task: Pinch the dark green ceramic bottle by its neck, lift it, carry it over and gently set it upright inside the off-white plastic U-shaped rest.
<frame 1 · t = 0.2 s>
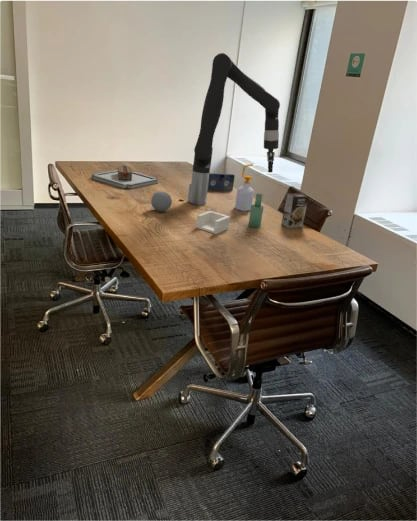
hand: (270, 170, 235), 23 cm above the table, tool pointing down, fingers open, 8 cm apart
decorative stone: (160, 211, 222), on the table
coffee box: (291, 226, 226), on the table
soap bottle: (242, 208, 244), on the table
green bottle: (254, 226, 218), on the table
vhs cassette tape: (218, 190, 276), on the table
grey square tray: (125, 182, 269), on the table
u rest: (212, 228, 208), on the table
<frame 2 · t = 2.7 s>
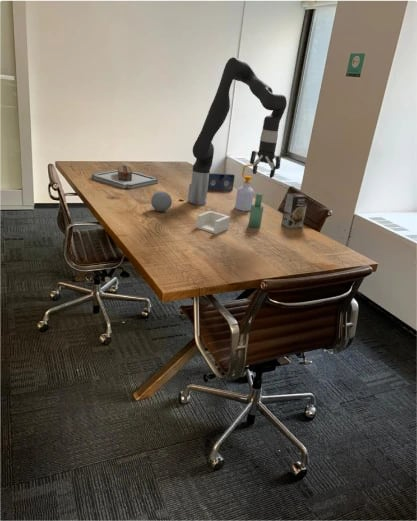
hand: (262, 175, 209), 25 cm above the table, tool pointing down, fingers open, 8 cm apart
nothing on the table moved.
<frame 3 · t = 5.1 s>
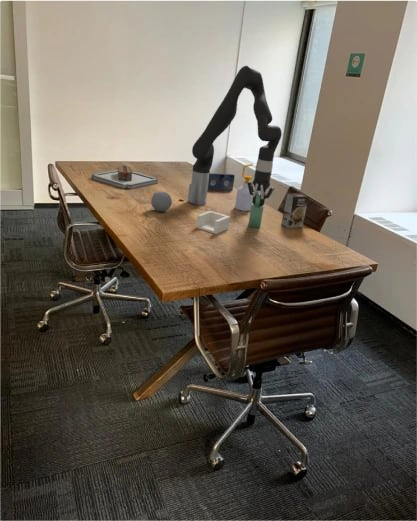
hand: (257, 205, 214), 11 cm above the table, tool pointing down, fingers closed on green bottle, 3 cm apart
green bottle: (254, 226, 218), on the table, touching gripper
everything else where it was.
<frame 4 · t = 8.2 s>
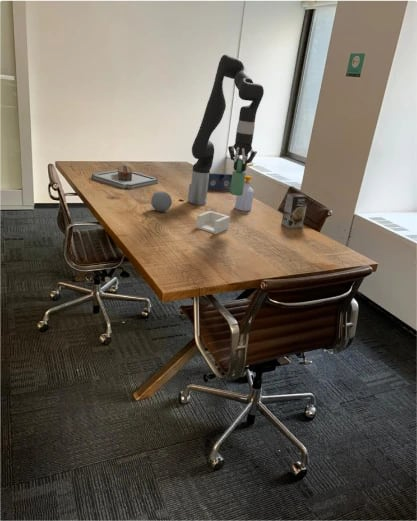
hand: (239, 170, 202), 27 cm above the table, tool pointing down, fingers closed on green bottle, 3 cm apart
green bottle: (236, 193, 206), point 16 cm above the table, touching gripper
everything else where it was.
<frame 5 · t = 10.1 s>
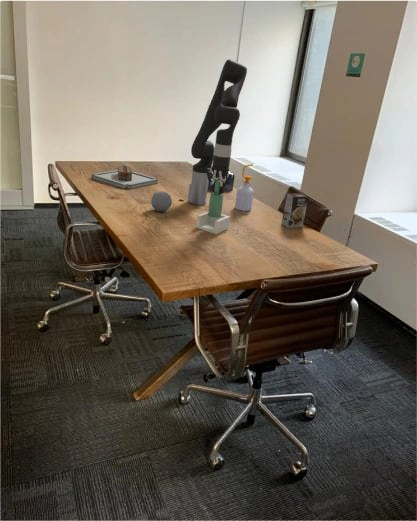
hand: (217, 193, 201), 17 cm above the table, tool pointing down, fingers closed on green bottle, 3 cm apart
green bottle: (214, 215, 205), point 6 cm above the table, touching gripper
everything else where it was.
when the fingers open (13 cm above the table, at t = 11.6 s): green bottle drops 1 cm, resting on u rest.
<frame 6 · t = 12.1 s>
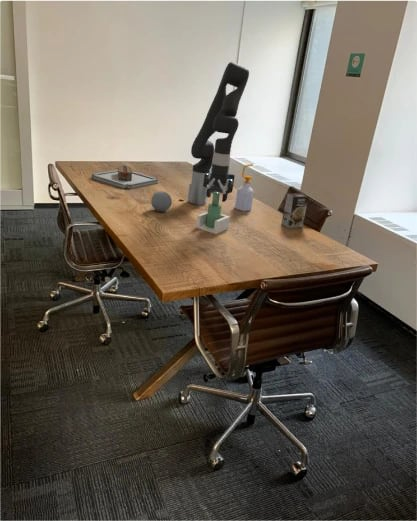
hand: (216, 199, 202), 14 cm above the table, tool pointing down, fingers open, 7 cm apart
green bottle: (212, 226, 207), point 1 cm above the table, touching u rest
everything else where it was.
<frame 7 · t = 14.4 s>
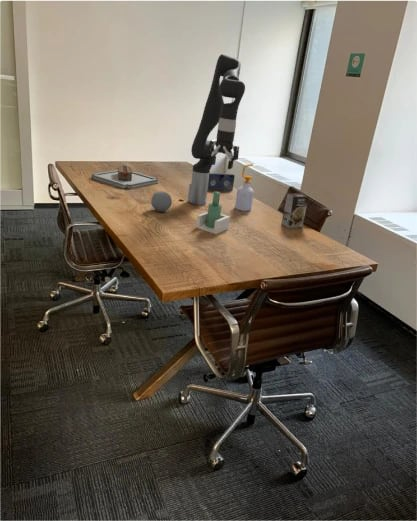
hand: (221, 166, 198), 28 cm above the table, tool pointing down, fingers open, 8 cm apart
nothing on the table moved.
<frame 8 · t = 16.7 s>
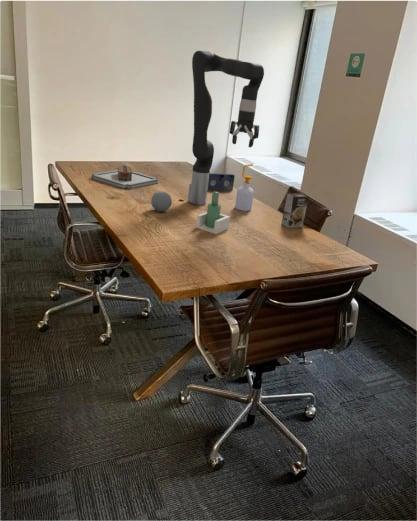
hand: (242, 145, 212), 36 cm above the table, tool pointing down, fingers open, 8 cm apart
nothing on the table moved.
at the end: green bottle 0.2 cm off-centre on the u rest, point 1.1 cm above the u rest's base; green bottle tilted 2°; the gripper is holding nothing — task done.
